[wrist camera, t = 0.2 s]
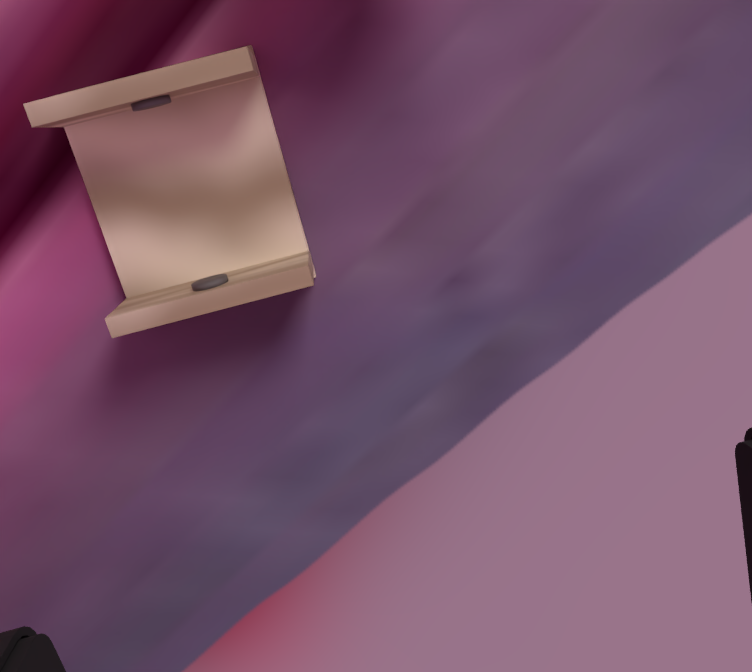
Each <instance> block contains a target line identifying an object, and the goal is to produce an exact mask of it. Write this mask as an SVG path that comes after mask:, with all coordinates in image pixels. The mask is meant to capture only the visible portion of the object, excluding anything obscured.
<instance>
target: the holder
mask: <svg viewBox="0 0 752 672" xmlns="http://www.w3.org/2000/svg"><path fill="white" fill-rule="evenodd" d="M23 105H24V108H25V110H26V113H27V116H28V118H29V121H30V123H31V126H32V127H64V129H65V132H66V134H67V137H68V140H69V142H70V145H71V148H72V151H73V153H74V156H75V159H76V162H77V164H78V167H79V170H80V173H81V175H82V178H83V181H84V183H85V186H86V189H87V192H88V194H89V197H90V200H91V203H92V205H93V208H94V211H95V214H96V216H97V219H98V222H99V224H100V227H101V230H102V233H103V235H104V238H105V241H106V244H107V246H108V249H109V252H110V255H111V257H112V260H113V263H114V265H115V268H116V271H117V274H118V276H119V279H120V282H121V285H122V287H123V290H124V293H125V296H126V299H125V300H124V301H123V302H122V303H121V304H120V305H119V306H118V307H117V308H116V309H115V310H113V311H112V312H111V313H110V314H109V315H108V316H107V317H106V318H105V321H106V324H107V327H108V329H109V332H110V335H111V337H112V338H115V337H119V336H122V335H126V334H130V333H134V332H138V331H142V330H145V329H149V328H153V327H157V326H161V325H164V324H168V323H172V322H176V321H180V320H183V319H187V318H191V317H195V316H199V315H203V314H206V313H210V312H214V311H218V310H222V309H225V308H229V307H233V306H237V305H241V304H244V303H248V302H252V301H256V300H260V299H264V298H267V297H271V296H275V295H279V294H283V293H286V292H290V291H294V290H298V289H302V288H306V287H309V286H313V285H314V278H315V277H316V273H315V270H314V266H313V262H312V259H311V255H310V252H309V248H308V244H307V241H306V237H305V234H304V230H303V226H302V223H301V219H300V216H299V212H298V209H297V205H296V201H295V198H294V194H293V191H292V187H291V183H290V180H289V176H288V173H287V169H286V165H285V162H284V158H283V155H282V151H281V148H280V144H279V140H278V137H277V133H276V130H275V126H274V122H273V119H272V115H271V112H270V108H269V104H268V101H267V97H266V94H265V90H264V86H263V83H262V79H261V76H260V72H259V69H258V65H257V61H256V58H255V54H254V51H253V47H252V45H249V46H245V47H241V48H237V49H233V50H229V51H225V52H221V53H217V54H214V55H210V56H206V57H202V58H198V59H194V60H190V61H186V62H183V63H179V64H175V65H171V66H167V67H163V68H159V69H155V70H151V71H148V72H144V73H140V74H136V75H132V76H128V77H124V78H120V79H116V80H113V81H109V82H105V83H101V84H97V85H93V86H89V87H85V88H82V89H78V90H74V91H70V92H66V93H62V94H58V95H54V96H52V97H48V98H44V99H40V100H37V101H33V102H29V103H25V104H23Z"/></svg>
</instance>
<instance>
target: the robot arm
mask: <svg viewBox="0 0 752 672" xmlns="http://www.w3.org/2000/svg"><path fill="white" fill-rule="evenodd" d="M735 458H736V467H737V475H738V485H739V494H740V502H741V512H742V520H743V529H744V538H745V547H746V556H747V564H748V573H749V583H750V592H751V601H752V428H750V429H748V431H746V434H745V438H744V442H740V443H738V444H737V445H736V448H735ZM0 672H66V671H65V669H64V667H63V664H62V662H61V660H60V658H59V656H58V654H57V652H56V650H55V648H54V646H53V644H52V642H51V640H50V639H49V637H48V636H46V635H45V634H38V635H37V634H36V632H35V631H34V630H33V629H31V628H30V627H25V626H24V627H20V628H17V629H13V630H9V631H6V632H2V633H0Z"/></svg>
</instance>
